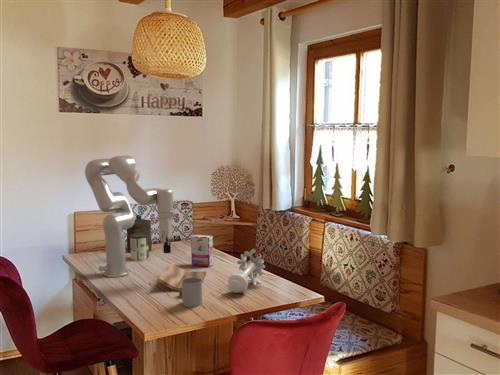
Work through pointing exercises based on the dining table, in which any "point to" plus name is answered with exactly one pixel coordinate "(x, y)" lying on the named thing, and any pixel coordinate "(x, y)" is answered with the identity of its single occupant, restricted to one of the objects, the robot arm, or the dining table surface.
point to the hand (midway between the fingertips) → (167, 252)
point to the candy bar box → (202, 250)
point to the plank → (171, 276)
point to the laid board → (192, 275)
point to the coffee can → (139, 247)
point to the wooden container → (140, 231)
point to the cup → (192, 292)
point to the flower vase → (246, 272)
